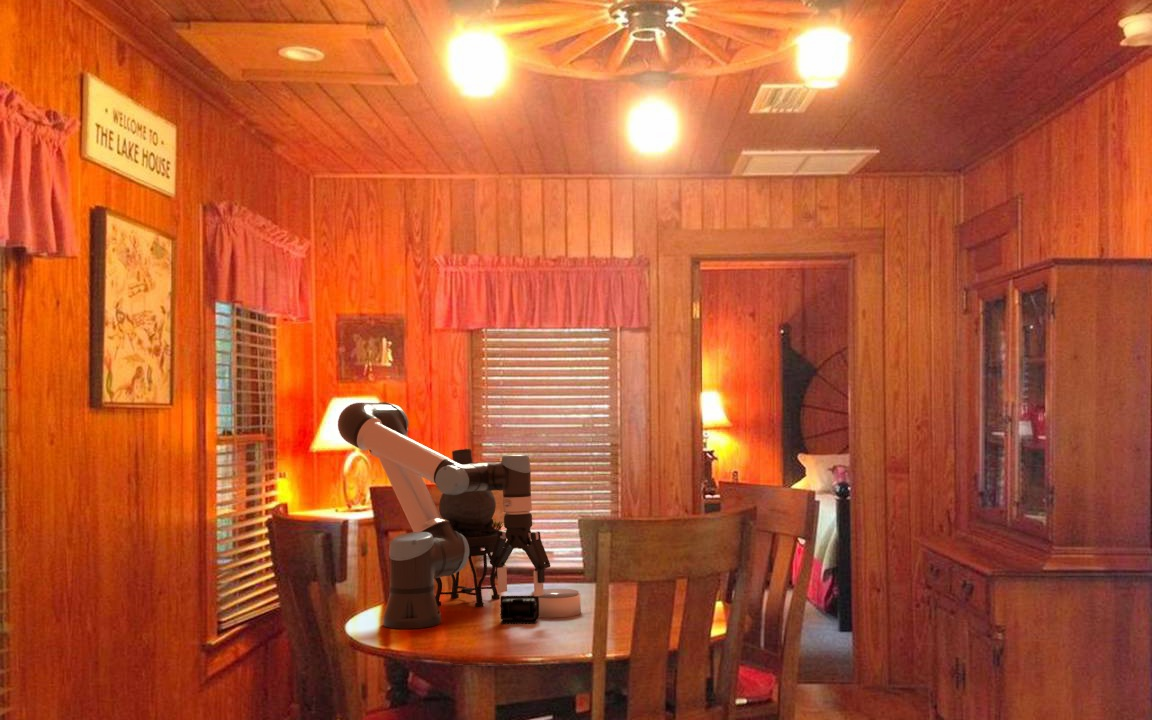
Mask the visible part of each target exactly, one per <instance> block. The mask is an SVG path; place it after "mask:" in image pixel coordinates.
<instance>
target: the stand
mask: <svg viewBox="0 0 1152 720" xmlns="http://www.w3.org/2000/svg"><path fill="white" fill-rule="evenodd" d="M543 590H544V595H541V596H538V597H539V618H549V619H550V618H553V619H554V618H566V617H575V616H577V615H580V614H581V613H582V603H581V600H582V599H581V598H582V597H581V595H582V594H581V593H580V592H579V590H577V589H572V588H543ZM529 596H534V590H533V591H532V592H531V593H530V594H529Z"/></svg>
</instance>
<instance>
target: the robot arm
mask: <svg viewBox="0 0 1152 720" xmlns="http://www.w3.org/2000/svg"><path fill="white" fill-rule="evenodd" d="M409 424H410V423H409V419H408V416H407V414H406V412H405V411H404V410H403V409H402V408H401V407H400V406H399V405H396V404H395V403H390V402H383V401H382V402H355V403H352V404H350V405H347V406H346V407H345V408H343V410H342V411H341V413H340V414H339V416H338V420H337V429H338V431H339V432H338V433H339V435H340V436H341V438H342V439H343V440H344V441H345V442H347V443H348V444H350V445H351V446H354V447H355V448H358V449H359V450H362V451H368V450H369V454H370V456H372V457H375V458H377V459H378V460H379V462H380V464H381V467H382V468H383V470H384V472H385V474H386V476H387V478H388V480H389V484H390V485H391V488H392V489H393V492H394V493H395V495H396V499H397V500H398V502H399V504H400V507H401V508H402V511H403V512H404V515H405V517H406V519H407V521H408V524H409V525H410V527H411V530H412V532H408V533H401V534H399V535H396V536H394V537H393V538H392V539H391V540H390V542H389V548H388V549H389V550H388V561H389V562H388V566H389V567H388V571H389V595H388V599H387V602H386V607H385V611H384V614H383V616H382V617H383V618H382V622H383V623H382V626H383V627H386V628H389V629H399V630H400V629H401V630H402V629H403V630H406V629H408V630H409V629H411V630H412V629H422V628H429V627H434V626H437V625H440V624H441V623H442V613H441V611H440V608H439V607H440V606H438V604H437V601H436V598H435V596H436V594H435V578H439V577H440V578H442V577H449V576H450V577H451V575H452V574H454V575H455V574H456V573H457V572H459V573H460V571H462V570H463V569H464V568H465V566H466V565H467V563H468V562H469V559H468V557H469V545H468V542H467V540H466V538H465V537H464V536H463V535H462V534H461V533H458V532H456V531H454V530H453V528H452V526H451V524H450V522H449V521H448V520H445V519H442V517H441V515H440V512H439V509H438V507H437V506H436V504H435V501H434V500H433V497H432V495H431V494H430V492H429V489H428V487H427V485H426V483H425V481H424V479H425V480H428V481H430V482H431V483H432V484H433V483H434V484H435V486H436V487H437V489H438V491H439V492H440V493H442V494H443V493H444V494H447V495H458V494H463V493H470V492H479V491H496V492H497V491H500V492H501V491H502V498H503V499H502V500H503V512H504V513H505V514H504V515H503V528H504V529H503V530H502V529H500V530H499V531H498V532H497V541H496V544H495V547H494V550H493V552H492V553H491V560H490V559H489V563H490V565H491V566H492V564H493V565H494V566H495V571H496V577H495V579H496V580H497V593H498V594H499V593H500V594H501V593H505V592H508V579H507V577H508V576H507V566H506V563H507V561H508V559H509V558H510V556H511V554H512V553H513V550H514V549H518V550H520V549H522V551H524V552H525V554H526V555H527V558H529V560H530V562H531V564H532V566H533V567H534V570H533V589H534V590H533V591H534V596H541V595H544V590H543V589H544V583H545V581H546V579H545V577H546V576H545V570H546V569H548V568H551V562H550V559H549V558H548V555H547V552H546V549H545V547H544V544H543V542H542V539H541V532H540V531H531V528H532V527H533V514H532V513H531V512H532V511H533V508H532V507H533V505H532V487H531V486H532V484H531V483H532V482H531V473H532V470H531V463H530V461H531V459H530V457H529V455H527V454H506V455H505V454H504V455H503V456H502V457H501V462H473V463H471V464H464V465H462V464H459V463H457V462H455V461H453V459H451V458H449V457H448V456H445V455H443V454H441V453H440V452H437V451H436V450H433V449H431V448H429V447H427V446H425V445H423V444H422V443H419V442H418V441H416V440H414V439H412V438H410V436H408V432H409V428H408V427H409V426H410V425H409Z"/></svg>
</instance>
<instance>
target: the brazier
mask: <svg viewBox="0 0 1152 720" xmlns="http://www.w3.org/2000/svg"><path fill="white" fill-rule="evenodd" d="M451 454H452V460H453V461H455V462H457V463H459V464H462V465H464V464H471V463H474V462H473V455H472V449H471V448H465V449H456V450H452V452H451ZM496 501H497V500H496V498H495V495H494V493H493V492H492V491H479V492H470V493H463V494H458V495H447V494H444V493H442V494H441V497H440V499H439V504H438V512H439V514H440V516H441V518H442V519H445V520H448V521H449V522H450V524H451V526H452V528H453V530H454V531H456V532H458V533H461V534H462V535H463V536H464V537H465V538H466V540H467V542H468V545H469V557H468V562H469V566H470V568H471V572H472V576H473V584H474V587H467V586H462V585H461V586H460V585H459V583H460V581H459V580H460V571H459V572H457V573H454V574H452V575H450V577H451V578H452V579H451V580H452V588H451V591H446V592H445V591H443V582H442V579H441V578H442V577H439V578H435V579H434V581H436V584H437V589H436V593H435V598H436V601H437V604H438V607H440V606H441V607H442V601H441V600H440V599H441V595H442V596H443V595H450V598H451V599H459V598H460V595H459V594H465V595H469V596H475V598H476V599H475V600H476V602H474V607H475V608H483V607H484V602H483V593H482V590H492V593H493V594H491V600H500V594H499V592H498V588H497V587H496V583H495V580H496V567H495V566H494V565H493V564H492V565H491V573H490V576H489V581H490V582H489V583H490V586H482V584H483V582H484V580H485V578H486V575H487V571H488V561H487V560H488V559H489V561H490V560H491V556H492V553H493V550H494V547H495V544H496V541H497V532H498V531H500V530H501V528H502V527H503V524H504V521H502V522H501V523H500V521H498V524H497V525H496V523H497V521H494V519H493V517H494V514H495V513H496V512H495V511H496V507H497V503H496ZM495 527H496V528H495ZM481 548H482V549H484V550H482V549H481ZM480 556H482V557H483V558H482V559H483V561H482V562H483V573H482V575H481V578H480V580H479V581H478V579H477V573H476V570H475V565H474V563H473V560H472V559H473V558H472V557H480ZM487 557H488V559H487ZM458 589H460V590H458ZM442 591H443V592H442ZM473 591H474V592H473Z"/></svg>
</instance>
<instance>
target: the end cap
mask: <svg viewBox="0 0 1152 720" xmlns="http://www.w3.org/2000/svg"><path fill="white" fill-rule="evenodd" d="M499 607H500V614H499V616H500V620H501V622H500V624H501V625H535V624H537V621H538V620H539V618H540V617H539V597H538V596H530V595H501V596H500V605H499Z"/></svg>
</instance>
